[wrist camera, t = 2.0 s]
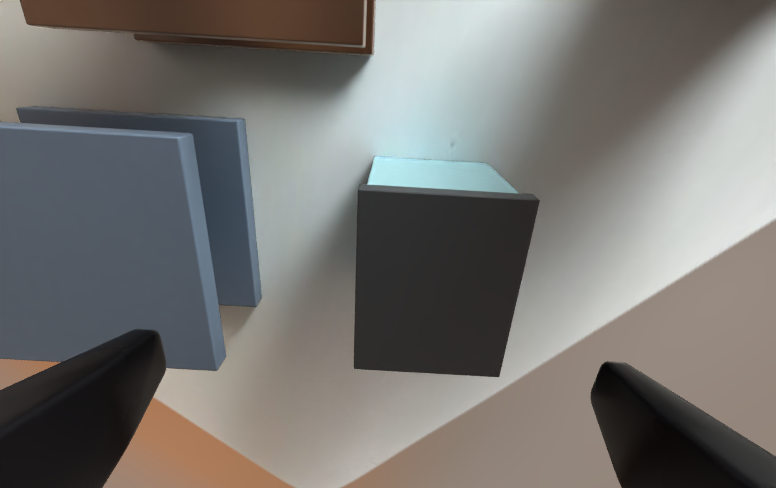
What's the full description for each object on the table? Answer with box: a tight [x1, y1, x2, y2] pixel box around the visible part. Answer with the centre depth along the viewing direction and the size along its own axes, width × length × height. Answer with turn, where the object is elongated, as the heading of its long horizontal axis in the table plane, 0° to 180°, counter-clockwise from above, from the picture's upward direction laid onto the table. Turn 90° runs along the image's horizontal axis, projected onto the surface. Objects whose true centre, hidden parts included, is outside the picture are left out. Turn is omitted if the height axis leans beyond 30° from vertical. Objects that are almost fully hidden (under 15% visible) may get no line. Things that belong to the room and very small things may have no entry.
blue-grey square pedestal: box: [0, 106, 262, 371], centre depth 17 cm, size 10×10×6 cm
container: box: [354, 157, 540, 377], centre depth 17 cm, size 6×8×7 cm
